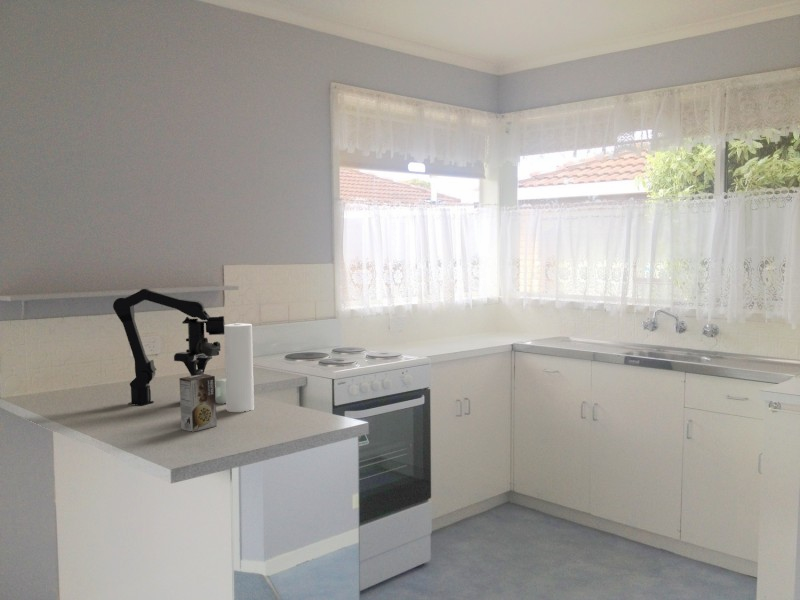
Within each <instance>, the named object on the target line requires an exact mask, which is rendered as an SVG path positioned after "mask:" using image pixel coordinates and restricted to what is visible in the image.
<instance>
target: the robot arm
mask: <svg viewBox="0 0 800 600" xmlns="http://www.w3.org/2000/svg"><path fill="white" fill-rule="evenodd" d="M143 301H149V302H150V303H151V302H152V303H154V304H158V305H161V306H165V307H169V308H172V309H176V310H177V311H180V312H181V313H183V314H184V315H187V316H186V317H185V318H184V320H183V321H182V324H187V332H188V333H187V334H188V335H187V336H188V337H187V338H185V342H188V349H186V350H185V351H182V352H180V351H179V352H176V353H175V354H174V355H173V361H174V362H181V363H183V364H184V365H185V367H186V369H187V370H188V372H189V374H190V376H194V375H196V369H203V374H205V369H206V366H207V364H208V363H209V361H210V360H212V359H213V356H214V357H215V356H220V352H221V343H220V342H219V341H214V342H209V340H208V337H205V335H206V334H205V333H208V335H209V336H217V335H218V336H221V335H222V336H223V335H224V325H226V322H225V316H224V315H220V316H210V315H209V314H208V313H207V311H206V310H205V306H204V303H203V302H201V301H200V300H193V299H183V298H177V297H174V296H170V295H167V294H165V293H161V292H157V291H154V290H151V289H149V288H141V289H140V290H139V291H137V292H135V293H132V294H131V295H128V296H122V297H118V298H116V299H115V300H114V301H113V304H112V308H113V311H114V312H115V314H116V316H117V317H118V319H119V320H120V322H121V323H122V326H123V329H124V331H125V335H126V338H127V340H128V344H129V346H130V350H131V353H132V357H133V360H134V371H135V372H134V373H135V378H134V379H133V380H131V382H130V383H129V387H130V399H131V402H128V403H127V404H128V405H131V404H135V405H134V406H145V405H148V403H149V404H153V403H154V400H152V395H151V386H150V383H151V381H152V380H153V379H154V378H155V376H156V371H157V368H156V366H155V361H154V359H151V360H149V358H148V357H147V354H146V351H145V348H144V346H143V342H142V338H141V335H140V333H139V329H138V325H137V323H136V320H135V306H136V305H138V304H140V303H142V302H143ZM144 404H145V405H144Z"/></svg>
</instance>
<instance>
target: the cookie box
mask: <svg viewBox="0 0 800 600" xmlns="http://www.w3.org/2000/svg"><path fill="white" fill-rule="evenodd" d="M215 380H216V378H215V375H211V374H207V373H204V374H200V375H194V376H191V375H189V376H184V377H183V376H182V377H179V397H180V398H179V399H180V424H181V425H180V426H181V428H180V429H182V430H184V431H188V432H191V431H192V433H193V432H196V431H197V432H198V431H201V430H205V429H209V428H213V427H217V426H218V425H217V424H218V423H217V421H218V420H217V403H216V395H215Z"/></svg>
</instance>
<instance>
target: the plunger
mask: <svg viewBox="0 0 800 600" xmlns="http://www.w3.org/2000/svg"><path fill="white" fill-rule="evenodd" d="M200 374H203V369H198V368H196V375H200Z"/></svg>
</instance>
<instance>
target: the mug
mask: <svg viewBox="0 0 800 600" xmlns="http://www.w3.org/2000/svg"><path fill="white" fill-rule="evenodd" d="M215 395H216V404H221V405H223V404H224V403H226V378H218V379H215Z"/></svg>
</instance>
